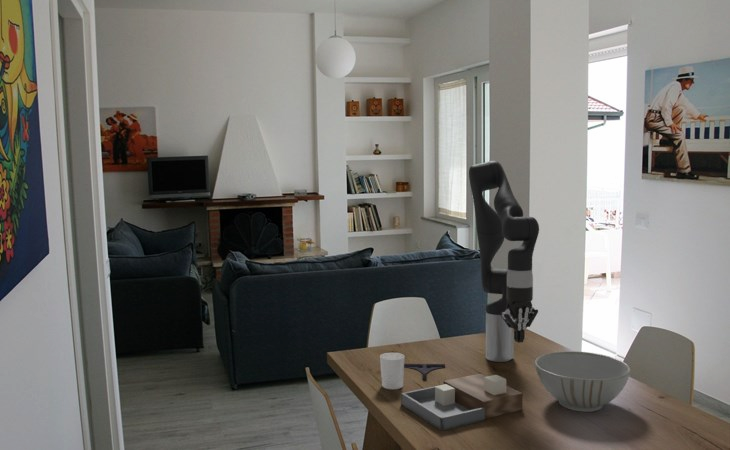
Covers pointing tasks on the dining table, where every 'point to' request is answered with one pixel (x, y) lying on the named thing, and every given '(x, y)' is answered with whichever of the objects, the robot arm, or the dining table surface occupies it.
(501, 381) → the off-white cube
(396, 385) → the white cup
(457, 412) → the tray
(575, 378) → the decorative bowl
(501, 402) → the walnut board
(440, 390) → the cream cube
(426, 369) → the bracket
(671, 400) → the dining table surface
